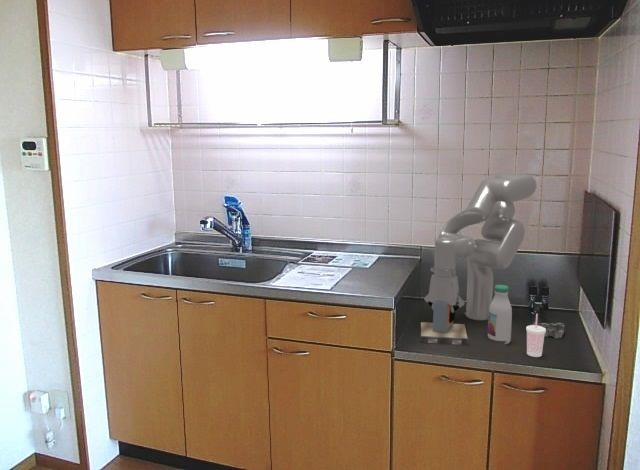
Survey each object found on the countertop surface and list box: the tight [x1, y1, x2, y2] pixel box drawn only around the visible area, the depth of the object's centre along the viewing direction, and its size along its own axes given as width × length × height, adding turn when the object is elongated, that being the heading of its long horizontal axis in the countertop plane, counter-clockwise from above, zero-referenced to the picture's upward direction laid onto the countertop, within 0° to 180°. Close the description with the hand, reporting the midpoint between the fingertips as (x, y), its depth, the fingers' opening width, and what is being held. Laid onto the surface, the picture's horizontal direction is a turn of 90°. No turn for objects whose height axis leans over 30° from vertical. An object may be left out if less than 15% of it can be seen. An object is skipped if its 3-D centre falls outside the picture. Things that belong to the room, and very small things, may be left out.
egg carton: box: [531, 321, 565, 339], centre depth 202 cm, size 11×8×4 cm
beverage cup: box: [525, 313, 546, 358], centre depth 183 cm, size 6×6×14 cm
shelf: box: [420, 321, 470, 346], centre depth 200 cm, size 16×20×4 cm
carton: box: [432, 301, 454, 334], centre depth 203 cm, size 8×5×11 cm, turn 150°
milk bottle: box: [487, 284, 513, 345], centre depth 194 cm, size 8×8×20 cm
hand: (443, 320), depth 203 cm, fingers closed on carton, 5 cm apart
